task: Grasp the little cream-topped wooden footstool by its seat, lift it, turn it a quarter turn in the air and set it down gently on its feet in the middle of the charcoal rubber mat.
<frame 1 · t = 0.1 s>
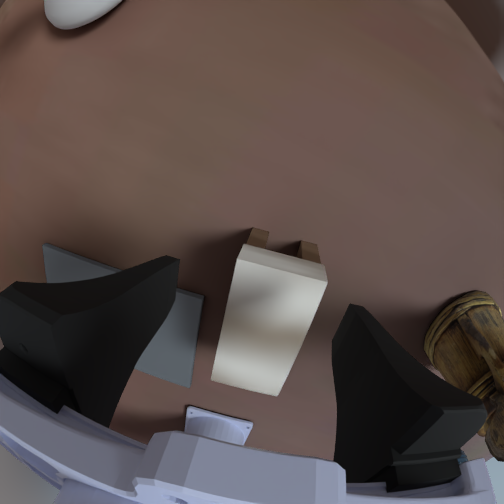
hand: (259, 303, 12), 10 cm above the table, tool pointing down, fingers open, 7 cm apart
wooden mug: (456, 314, 22), on the table
footstool: (268, 291, 23), on the table
mat: (113, 317, 26), on the table
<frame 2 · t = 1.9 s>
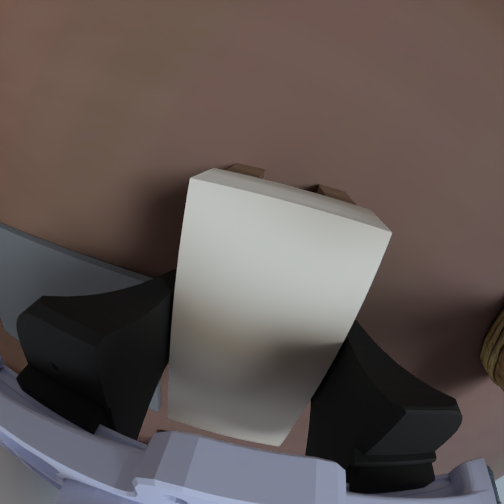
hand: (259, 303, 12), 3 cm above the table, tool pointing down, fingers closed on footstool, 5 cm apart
footstool: (265, 274, 14), on the table, touching gripper
mat: (56, 313, 18), on the table
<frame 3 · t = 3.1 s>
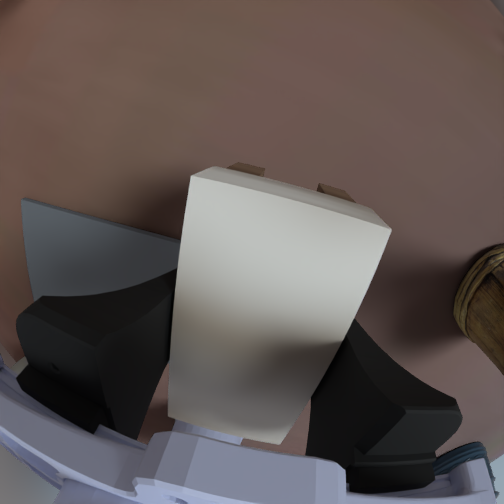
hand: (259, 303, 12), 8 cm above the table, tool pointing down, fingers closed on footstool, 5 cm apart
canister: (451, 459, 30), on the table
wooden mug: (486, 272, 18), on the table
footstool: (265, 272, 14), point 5 cm above the table, touching gripper
mat: (93, 280, 23), on the table
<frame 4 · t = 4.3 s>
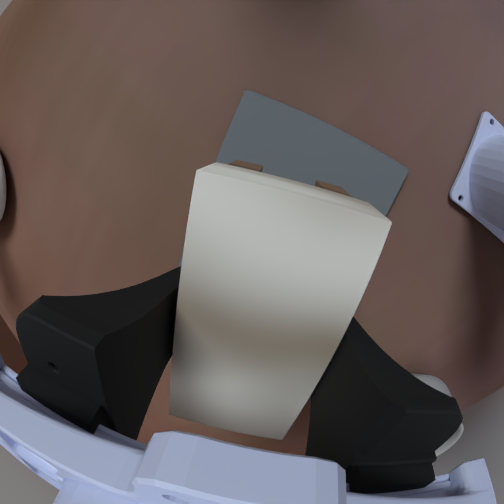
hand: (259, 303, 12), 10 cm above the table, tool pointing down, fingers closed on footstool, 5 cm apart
teacup: (393, 385, 25), on the table
footstool: (264, 269, 14), point 7 cm above the table, touching gripper
mat: (276, 242, 21), on the table
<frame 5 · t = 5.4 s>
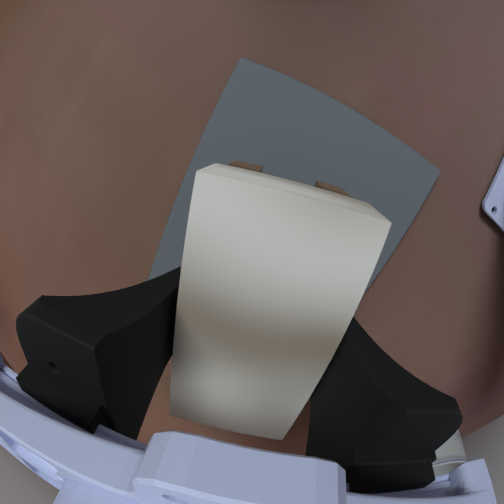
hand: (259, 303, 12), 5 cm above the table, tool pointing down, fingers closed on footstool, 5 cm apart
teacup: (394, 415, 21), on the table
footstool: (264, 269, 14), point 2 cm above the table, touching gripper
mat: (270, 252, 16), on the table
when the fingers open (5 cm above the table, at t = 6.5 s): footstool drops 1 cm, resting on mat.
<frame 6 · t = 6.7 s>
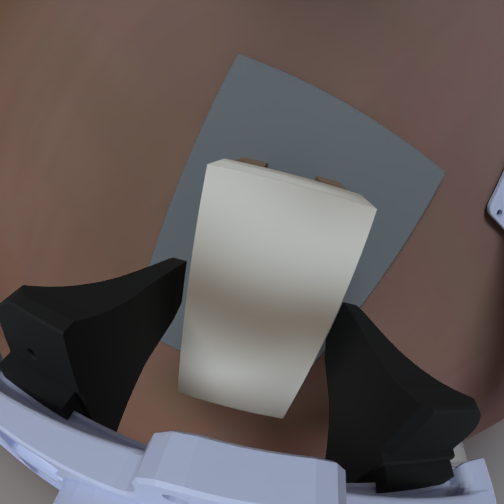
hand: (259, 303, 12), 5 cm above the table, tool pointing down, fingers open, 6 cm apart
footstool: (268, 258, 15), point 1 cm above the table, touching mat
mat: (269, 256, 16), on the table
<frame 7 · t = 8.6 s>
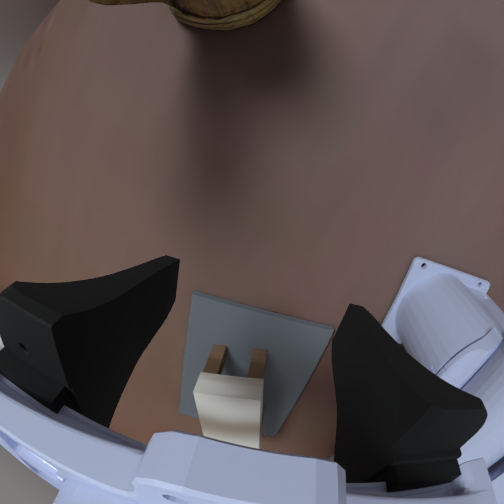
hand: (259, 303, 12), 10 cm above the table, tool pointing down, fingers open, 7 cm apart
wooden mug: (204, 1, 15), on the table
footstool: (241, 382, 26), point 1 cm above the table, touching mat
mat: (242, 379, 27), on the table
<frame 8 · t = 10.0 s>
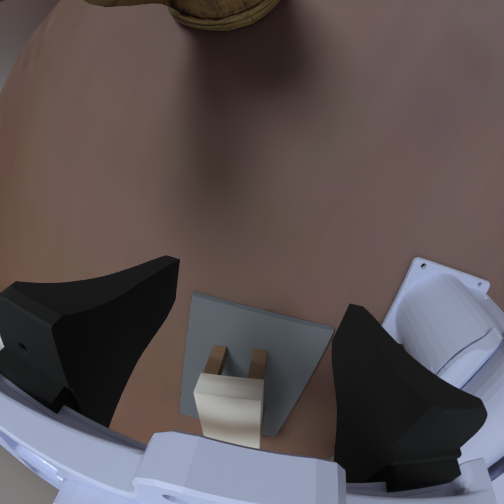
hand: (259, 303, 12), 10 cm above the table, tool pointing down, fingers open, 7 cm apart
wooden mug: (203, 2, 15), on the table
footstool: (241, 382, 26), point 1 cm above the table, touching mat
mat: (242, 379, 27), on the table
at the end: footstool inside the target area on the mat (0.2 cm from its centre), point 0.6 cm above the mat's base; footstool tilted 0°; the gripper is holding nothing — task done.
